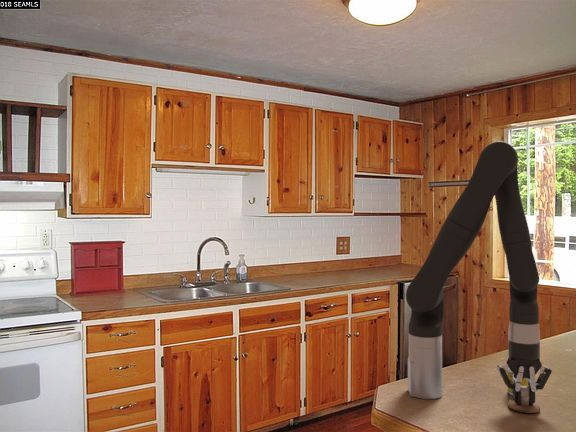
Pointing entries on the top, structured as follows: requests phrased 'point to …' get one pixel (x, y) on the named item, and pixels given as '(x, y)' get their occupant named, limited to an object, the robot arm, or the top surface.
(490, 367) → the top surface
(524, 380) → the supplement bottle
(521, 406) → the lid
